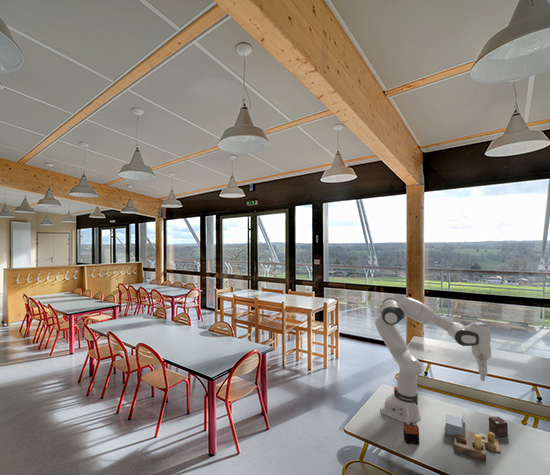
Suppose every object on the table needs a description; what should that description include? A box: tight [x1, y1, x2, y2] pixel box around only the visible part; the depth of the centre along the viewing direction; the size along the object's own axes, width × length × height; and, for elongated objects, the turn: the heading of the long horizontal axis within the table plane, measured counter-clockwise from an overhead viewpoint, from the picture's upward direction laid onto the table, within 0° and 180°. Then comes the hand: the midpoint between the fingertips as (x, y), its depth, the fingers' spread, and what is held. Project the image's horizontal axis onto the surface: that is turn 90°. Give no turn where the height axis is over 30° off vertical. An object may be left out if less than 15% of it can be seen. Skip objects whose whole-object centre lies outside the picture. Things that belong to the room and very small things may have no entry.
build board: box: [453, 434, 487, 461], centre depth 144 cm, size 13×9×3 cm
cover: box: [445, 413, 466, 437], centre depth 156 cm, size 9×9×9 cm
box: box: [488, 416, 509, 438], centre depth 156 cm, size 6×6×7 cm
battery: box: [402, 422, 420, 446], centre depth 151 cm, size 4×7×10 cm, turn 81°
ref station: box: [444, 424, 501, 454], centre depth 152 cm, size 24×10×6 cm, turn 57°
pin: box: [474, 433, 482, 450], centre depth 142 cm, size 3×3×7 cm
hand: (481, 376), depth 157 cm, fingers open, 8 cm apart
